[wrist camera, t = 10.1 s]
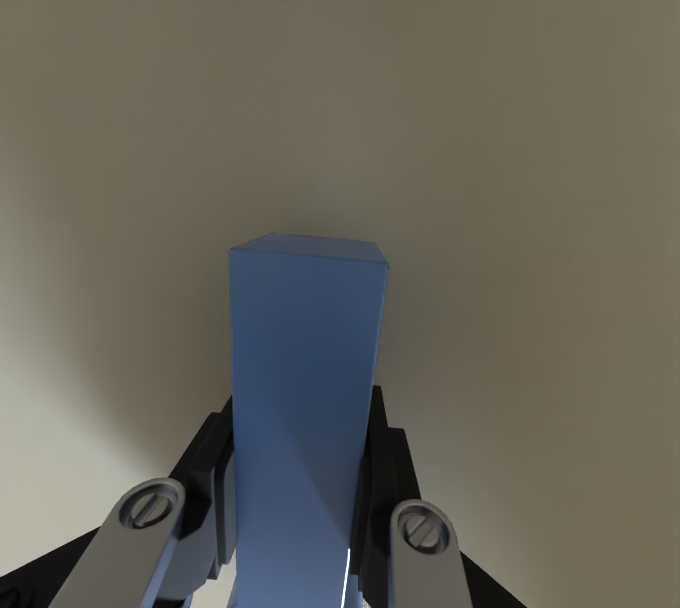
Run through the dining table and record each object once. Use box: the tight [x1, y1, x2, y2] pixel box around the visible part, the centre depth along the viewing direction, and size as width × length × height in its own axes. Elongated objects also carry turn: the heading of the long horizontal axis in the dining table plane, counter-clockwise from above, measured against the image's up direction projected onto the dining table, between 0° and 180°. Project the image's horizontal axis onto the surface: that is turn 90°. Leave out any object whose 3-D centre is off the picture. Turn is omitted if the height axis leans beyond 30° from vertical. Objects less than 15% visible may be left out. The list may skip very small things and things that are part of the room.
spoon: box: [227, 233, 389, 608], centre depth 10 cm, size 17×5×3 cm, turn 175°
